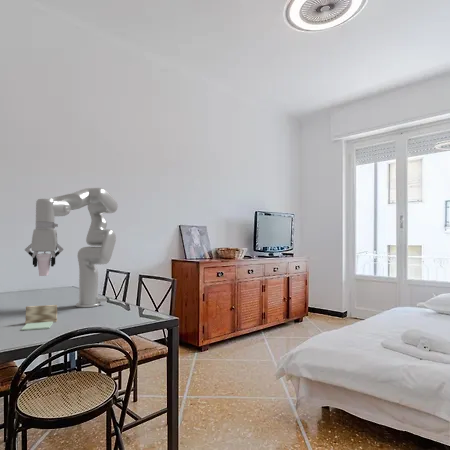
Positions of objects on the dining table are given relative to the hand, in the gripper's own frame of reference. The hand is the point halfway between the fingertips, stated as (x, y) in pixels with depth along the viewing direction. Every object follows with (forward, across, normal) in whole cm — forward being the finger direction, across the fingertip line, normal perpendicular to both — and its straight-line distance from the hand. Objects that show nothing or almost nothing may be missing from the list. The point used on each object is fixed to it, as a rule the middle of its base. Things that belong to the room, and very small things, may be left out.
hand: (44, 266), depth 159 cm
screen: (+24, 0, +4) cm, 24 cm away
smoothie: (+4, 0, 0) cm, 4 cm away
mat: (+24, 0, +12) cm, 27 cm away
